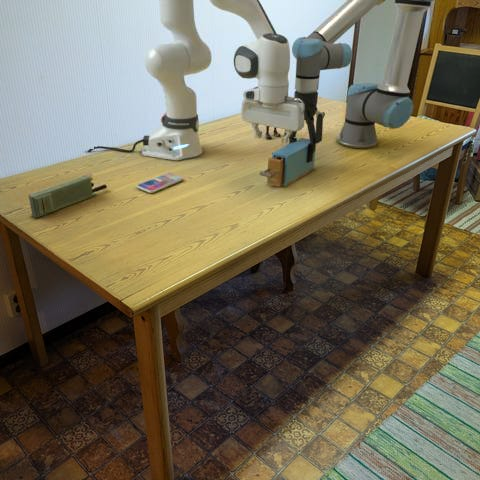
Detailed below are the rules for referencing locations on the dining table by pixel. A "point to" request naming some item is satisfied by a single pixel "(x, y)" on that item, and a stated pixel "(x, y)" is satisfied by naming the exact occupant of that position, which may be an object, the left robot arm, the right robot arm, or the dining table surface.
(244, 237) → the dining table surface
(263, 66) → the left robot arm
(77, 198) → the handheld radio
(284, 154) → the tall blue open box
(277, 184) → the drawer
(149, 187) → the smartphone
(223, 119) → the dining table surface
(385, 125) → the right robot arm
